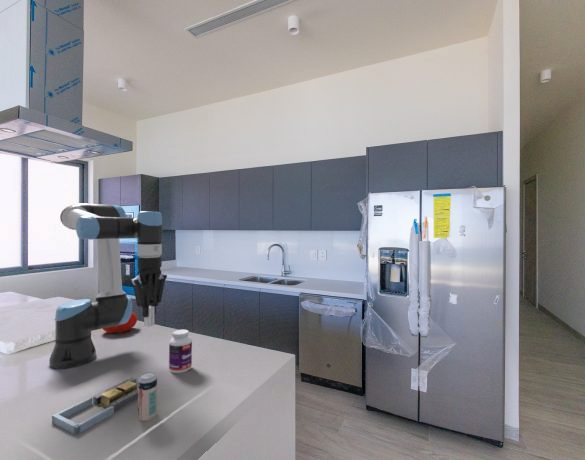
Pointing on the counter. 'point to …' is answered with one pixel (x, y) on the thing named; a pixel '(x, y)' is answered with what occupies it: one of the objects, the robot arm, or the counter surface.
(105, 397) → the tan small block
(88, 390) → the counter surface
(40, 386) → the counter surface
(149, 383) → the beer can
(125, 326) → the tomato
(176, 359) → the pill bottle
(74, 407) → the chip tray
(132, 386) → the block
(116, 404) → the slot rail
